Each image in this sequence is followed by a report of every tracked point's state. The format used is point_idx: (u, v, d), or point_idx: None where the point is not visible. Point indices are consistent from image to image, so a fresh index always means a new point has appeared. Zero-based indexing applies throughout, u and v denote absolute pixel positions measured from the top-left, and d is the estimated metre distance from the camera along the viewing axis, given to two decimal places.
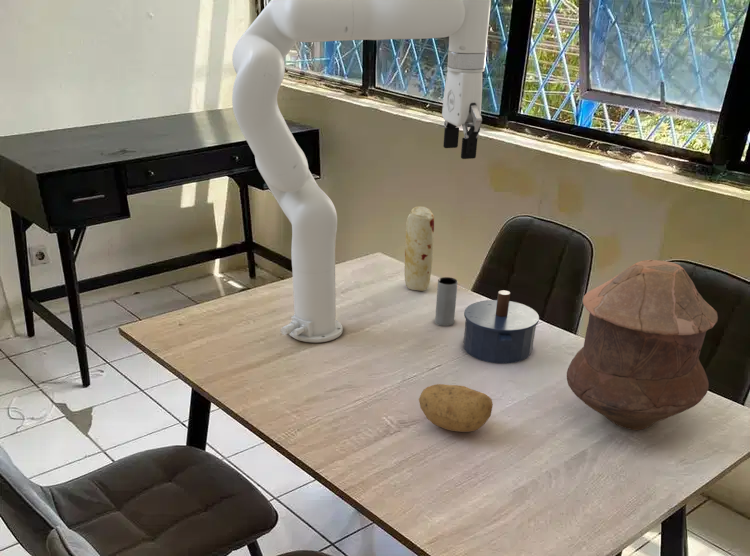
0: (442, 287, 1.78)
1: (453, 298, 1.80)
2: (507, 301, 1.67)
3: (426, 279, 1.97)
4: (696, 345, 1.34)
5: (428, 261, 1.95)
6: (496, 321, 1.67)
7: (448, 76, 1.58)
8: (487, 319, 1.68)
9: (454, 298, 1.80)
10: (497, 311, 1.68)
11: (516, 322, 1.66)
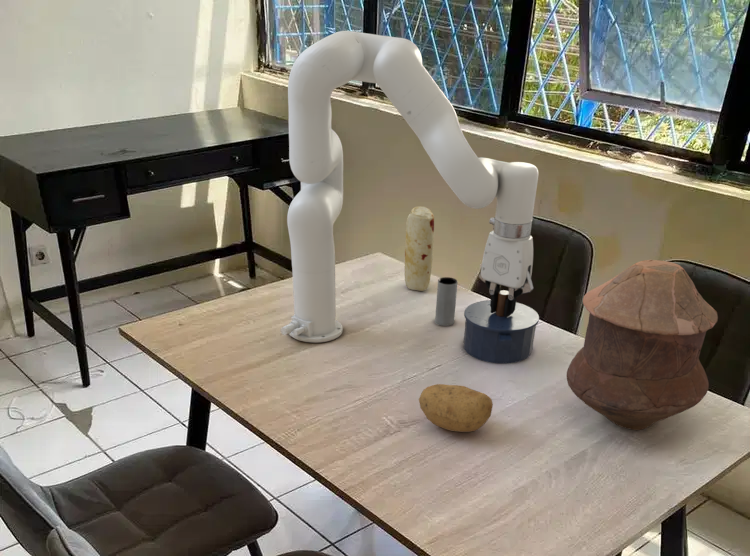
0: (442, 287, 1.78)
1: (453, 298, 1.80)
2: None
3: (426, 279, 1.97)
4: (696, 345, 1.34)
5: (428, 261, 1.95)
6: (496, 321, 1.67)
7: (493, 242, 1.60)
8: (487, 319, 1.68)
9: (454, 298, 1.80)
10: (497, 311, 1.68)
11: (516, 322, 1.66)
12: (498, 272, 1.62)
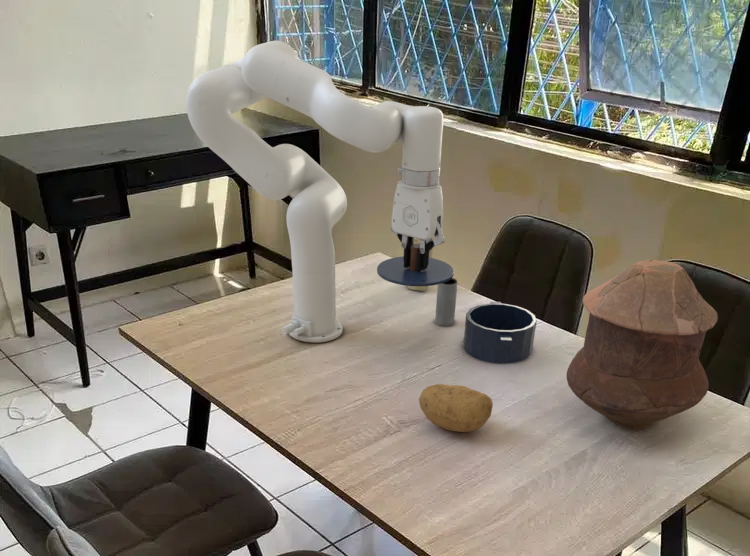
0: (442, 287, 1.78)
1: (453, 298, 1.80)
2: None
3: None
4: (696, 345, 1.34)
5: None
6: (408, 275, 1.61)
7: (401, 192, 1.54)
8: (400, 273, 1.62)
9: (454, 298, 1.80)
10: (410, 265, 1.63)
11: (429, 277, 1.61)
12: (408, 223, 1.56)
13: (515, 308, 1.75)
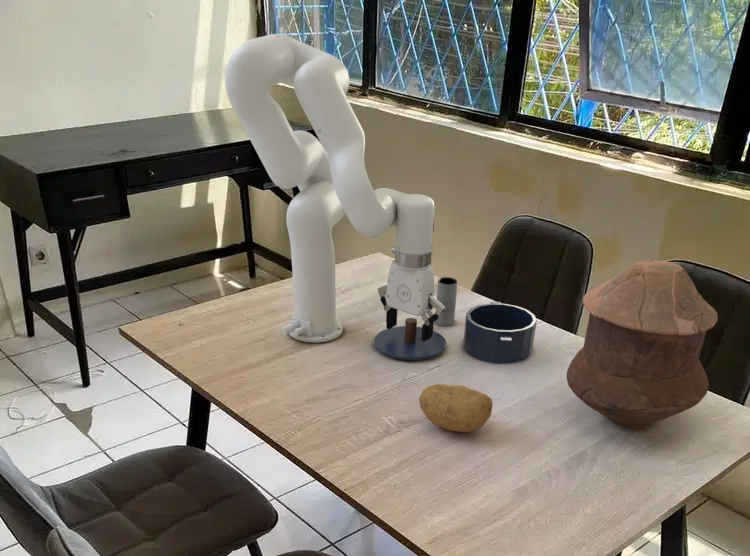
0: (442, 287, 1.78)
1: (453, 298, 1.80)
2: (414, 328, 1.71)
3: None
4: (696, 345, 1.34)
5: None
6: (403, 348, 1.71)
7: (395, 271, 1.64)
8: (395, 346, 1.72)
9: (454, 298, 1.80)
10: (405, 338, 1.73)
11: (423, 349, 1.70)
12: (401, 300, 1.66)
13: (515, 308, 1.75)
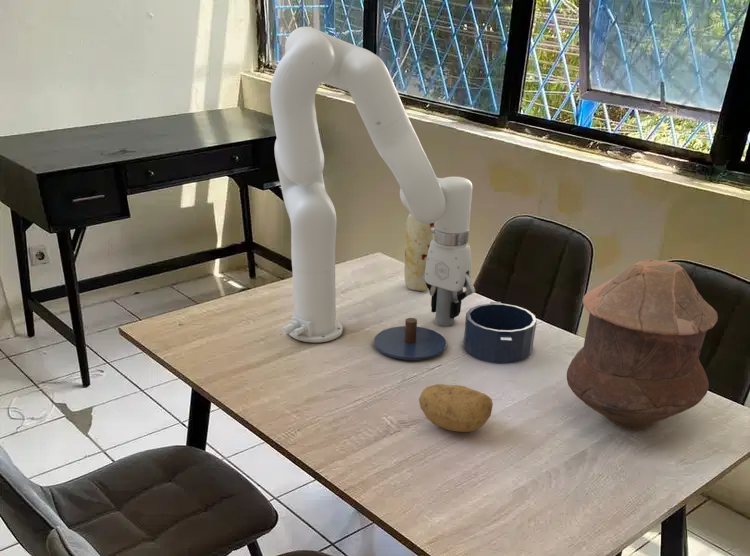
0: None
1: None
2: (414, 328, 1.71)
3: None
4: (696, 345, 1.34)
5: None
6: (403, 348, 1.71)
7: (434, 250, 1.74)
8: (395, 346, 1.72)
9: None
10: (405, 338, 1.73)
11: (423, 349, 1.70)
12: (439, 277, 1.77)
13: (515, 308, 1.75)
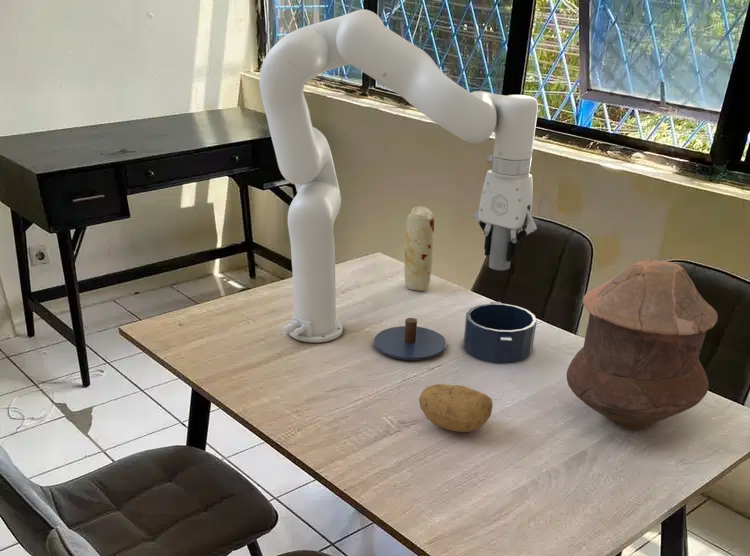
0: None
1: None
2: (414, 328, 1.71)
3: (426, 279, 1.97)
4: (696, 345, 1.34)
5: (428, 261, 1.95)
6: (403, 348, 1.71)
7: (491, 181, 1.54)
8: (395, 346, 1.72)
9: None
10: (405, 338, 1.73)
11: (423, 349, 1.70)
12: (496, 213, 1.57)
13: (515, 308, 1.75)
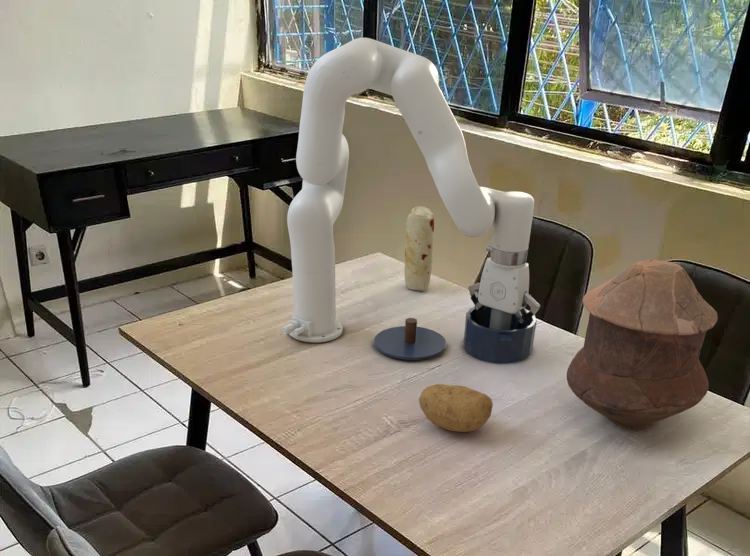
0: (497, 310, 1.67)
1: (508, 321, 1.69)
2: (414, 328, 1.71)
3: (426, 279, 1.97)
4: (696, 345, 1.34)
5: (428, 261, 1.95)
6: (403, 348, 1.71)
7: (490, 269, 1.63)
8: (395, 346, 1.72)
9: (509, 321, 1.69)
10: (405, 338, 1.73)
11: (423, 349, 1.70)
12: (495, 298, 1.65)
13: None
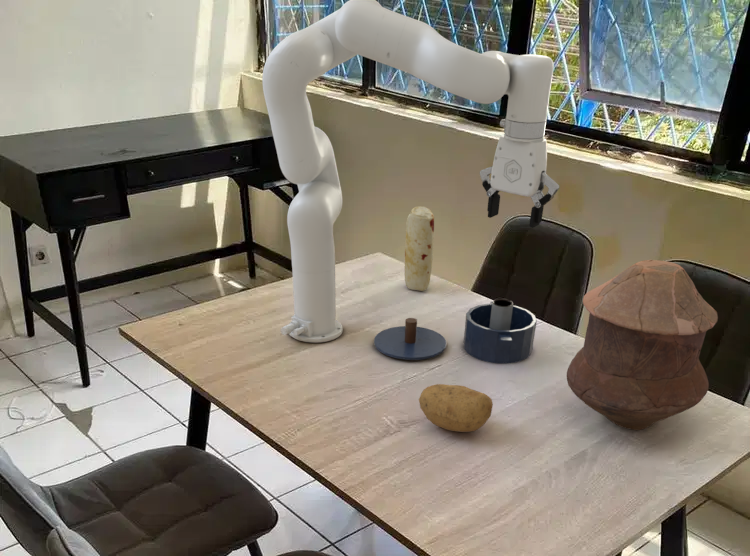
0: (497, 310, 1.67)
1: (508, 321, 1.69)
2: (414, 328, 1.71)
3: (426, 279, 1.97)
4: (696, 345, 1.34)
5: (428, 261, 1.95)
6: (403, 348, 1.71)
7: (504, 146, 1.49)
8: (395, 346, 1.72)
9: (509, 321, 1.69)
10: (405, 338, 1.73)
11: (423, 349, 1.70)
12: (509, 179, 1.51)
13: (515, 308, 1.75)
